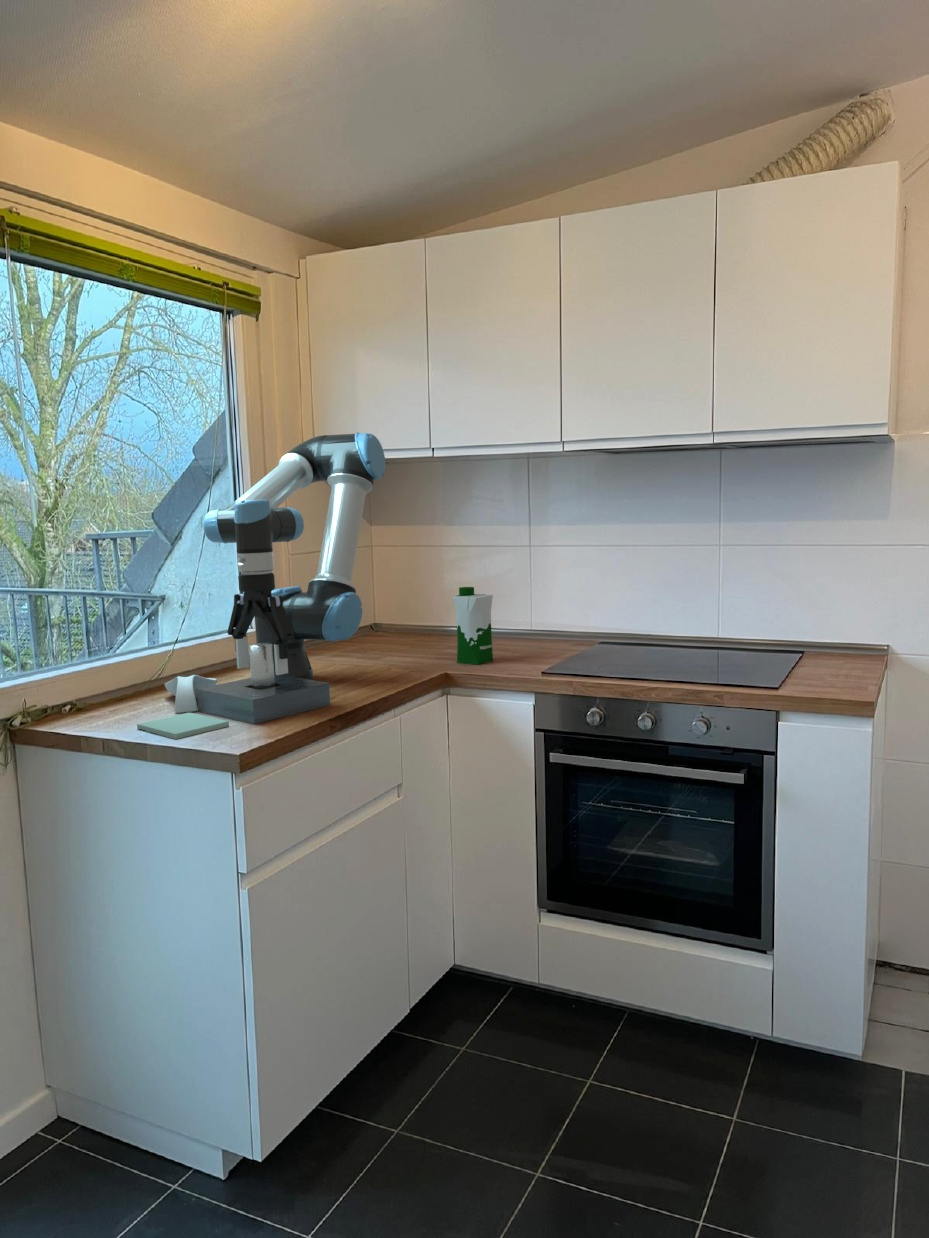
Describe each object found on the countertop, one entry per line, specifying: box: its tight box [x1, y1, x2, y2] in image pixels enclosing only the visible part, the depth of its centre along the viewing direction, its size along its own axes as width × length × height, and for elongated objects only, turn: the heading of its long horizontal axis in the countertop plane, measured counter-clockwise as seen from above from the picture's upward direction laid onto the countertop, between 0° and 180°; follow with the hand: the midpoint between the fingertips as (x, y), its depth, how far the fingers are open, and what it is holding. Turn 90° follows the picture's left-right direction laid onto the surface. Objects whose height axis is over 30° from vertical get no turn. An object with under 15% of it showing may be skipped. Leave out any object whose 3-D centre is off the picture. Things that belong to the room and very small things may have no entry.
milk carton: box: [452, 586, 494, 666], centre depth 247 cm, size 9×9×20 cm
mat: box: [136, 712, 230, 740], centre depth 185 cm, size 14×12×1 cm
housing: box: [196, 674, 331, 725], centre depth 200 cm, size 20×20×5 cm
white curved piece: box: [164, 674, 218, 714], centre depth 210 cm, size 24×12×7 cm, turn 13°
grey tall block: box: [248, 643, 275, 690], centre depth 199 cm, size 5×5×14 cm
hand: (262, 671), depth 199 cm, fingers open, 13 cm apart
